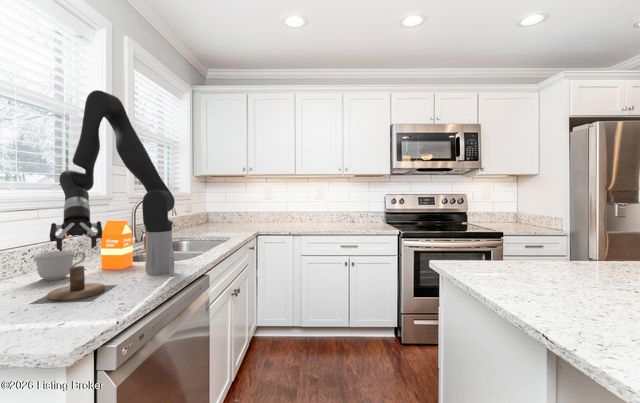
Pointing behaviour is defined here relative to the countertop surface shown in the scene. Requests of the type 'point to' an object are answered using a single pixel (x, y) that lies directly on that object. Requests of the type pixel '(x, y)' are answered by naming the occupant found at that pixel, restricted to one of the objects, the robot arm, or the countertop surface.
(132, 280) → the countertop surface
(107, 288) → the rubber mat
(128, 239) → the orange juice
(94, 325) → the countertop surface
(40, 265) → the teacup
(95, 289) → the walnut lid
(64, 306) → the countertop surface
